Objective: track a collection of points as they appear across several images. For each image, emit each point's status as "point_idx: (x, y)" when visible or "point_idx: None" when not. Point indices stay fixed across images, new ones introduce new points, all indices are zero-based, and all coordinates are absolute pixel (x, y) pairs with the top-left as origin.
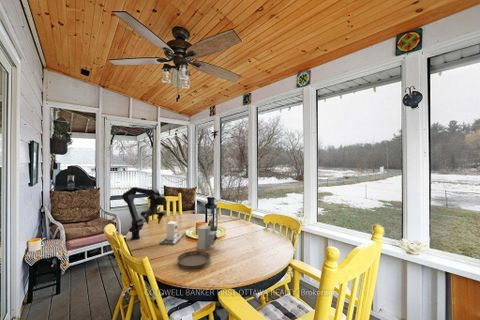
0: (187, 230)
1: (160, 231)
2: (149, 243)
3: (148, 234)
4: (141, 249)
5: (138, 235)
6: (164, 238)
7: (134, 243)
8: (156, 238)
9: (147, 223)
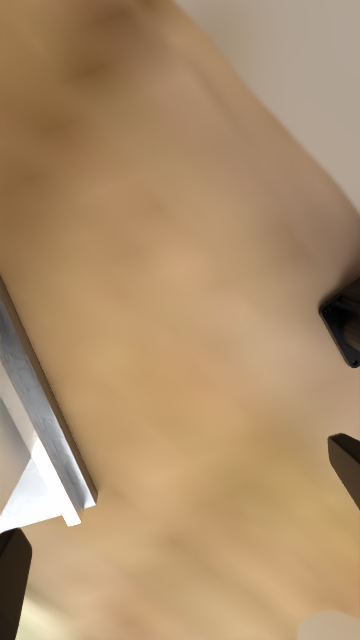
0: (51, 628)
1: (255, 525)
2: (124, 246)
3: (309, 436)
4: (56, 24)
5: (357, 329)
6: (6, 374)
7: (283, 184)
8: (164, 389)
9: (341, 444)
